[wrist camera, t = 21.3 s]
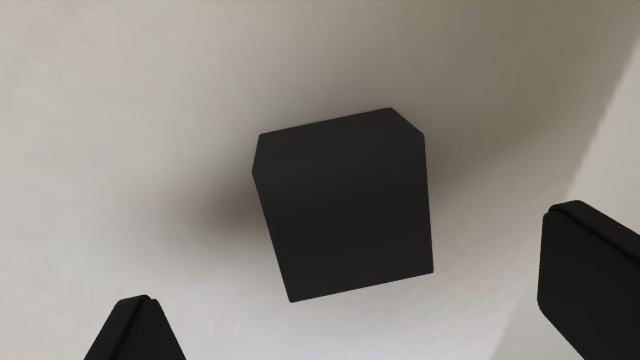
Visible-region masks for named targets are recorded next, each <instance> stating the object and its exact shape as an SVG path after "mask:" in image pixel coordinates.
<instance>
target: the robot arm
mask: <svg viewBox="0 0 640 360" xmlns="http://www.w3.org/2000/svg"><path fill="white" fill-rule="evenodd" d="M537 301H538V305H539V308H540V310H541V311H542V313H543V314H544V316H546V318H547V319H548V320H549V321H550V322H551V323H552V324H553V325H554V327H555V328H556V329H557V330H558V331H559V332H560V333H561V334H562V335H563V336H564V337H565V339H566V340H567V341H568V342H569V343H570V344H571V345H572V346H573V348H574V349H575V350H576V351H577V352H578V353H579V354H580V355H581V356H582V357H583V358H584V360H640V235H639V234H637V233H635V232H634V231H632V230H630V229H629V228H627V227H625V226H623V225H622V224H620V223H618V222H617V221H615V220H613V219H612V218H610V217H608V216H607V215H605V214H603V213H601V212H600V211H598V210H596V209H595V208H593V207H591V206H590V205H588V204H586V203H584V202H582V201H580V200H574V201H569V202H565V203H560V204H555V205H552V206H551V207H550V208H549V210H548V213H546V214H545V215H544V216H543V224H542V238H541V251H540V265H539V280H538V293H537ZM84 360H186V358H185V356H184V354H183V352H182V350H181V348H180V346H179V343H178V341H177V339H176V337H175V335H174V333H173V331H172V329H171V327H170V325H169V323H168V320H167V318H166V316H165V314H164V312H163V310H162V308H161V306H160V304H159V302H158V301H157V300H156V299H151V298H150V297H149V296H148V295H140V296H135V297H131V298H126V299H122V300H120V301H118V302H117V303H116V305H115V306H114V308H113V310H112V312H111V313H110V315H109V317H108V319H107V320H106V322H105V324H104V325H103V327H102V329H101V331H100V332H99V334H98V336H97V338H96V339H95V341H94V343H93V344H92V346H91V348H90V350H89V351H88V353H87V355H86V356H85V358H84Z"/></svg>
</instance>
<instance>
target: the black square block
mask: <svg viewBox="0 0 640 360" xmlns="http://www.w3.org/2000/svg"><path fill="white" fill-rule="evenodd" d="M252 175H253V178H254V181H255V185H256V188H257V192H258V195H259V199H260V202H261V206H262V209H263V213H264V216H265V219H266V223H267V226H268V230H269V233H270V237H271V240H272V244H273V247H274V251H275V254H276V257H277V261H278V264H279V268H280V271H281V275H282V278H283V282H284V285H285V288H286V292H287V295H288V299H289V301H290V302H291V303H293V302H298V301H303V300H307V299H312V298H317V297H322V296H326V295H331V294H336V293H341V292H345V291H350V290H355V289H359V288H364V287H369V286H374V285H378V284H383V283H388V282H393V281H397V280H402V279H407V278H411V277H416V276H421V275H426V274H430V273H433V271H434V268H433V254H432V239H431V225H430V211H429V197H428V183H427V168H426V154H425V140H424V135H423V134H422V133H421V132H420V131H419V130H418V129H416V128H415V127H414V126H413V125H412V124H410V123H409V122H408V121H407V120H406V119H405V118H403V117H402V116H401V115H400V114H399V113H397V112H396V111H395V110H394V109H393V108H385V109H380V110H375V111H370V112H366V113H361V114H356V115H351V116H346V117H342V118H337V119H332V120H327V121H322V122H318V123H313V124H308V125H303V126H298V127H294V128H289V129H284V130H279V131H274V132H270V133H265V134H261V135H259V139H258V144H257V149H256V153H255V158H254V163H253V168H252Z"/></svg>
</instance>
